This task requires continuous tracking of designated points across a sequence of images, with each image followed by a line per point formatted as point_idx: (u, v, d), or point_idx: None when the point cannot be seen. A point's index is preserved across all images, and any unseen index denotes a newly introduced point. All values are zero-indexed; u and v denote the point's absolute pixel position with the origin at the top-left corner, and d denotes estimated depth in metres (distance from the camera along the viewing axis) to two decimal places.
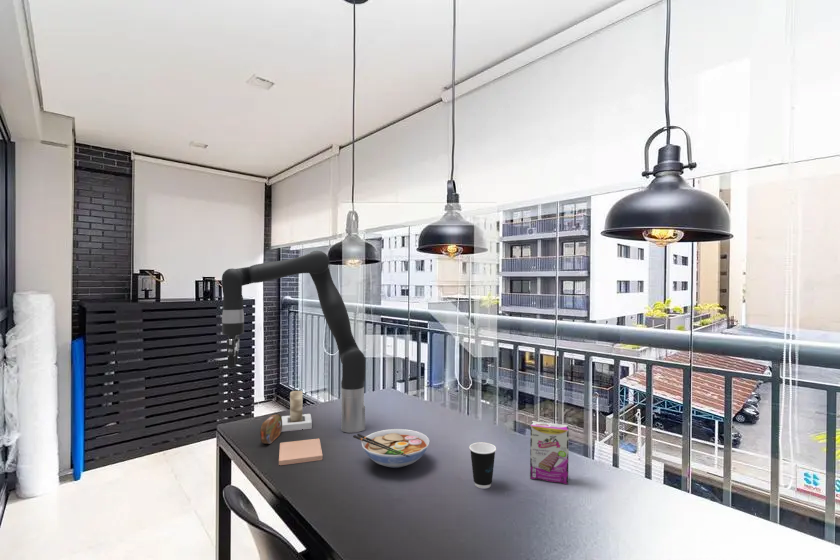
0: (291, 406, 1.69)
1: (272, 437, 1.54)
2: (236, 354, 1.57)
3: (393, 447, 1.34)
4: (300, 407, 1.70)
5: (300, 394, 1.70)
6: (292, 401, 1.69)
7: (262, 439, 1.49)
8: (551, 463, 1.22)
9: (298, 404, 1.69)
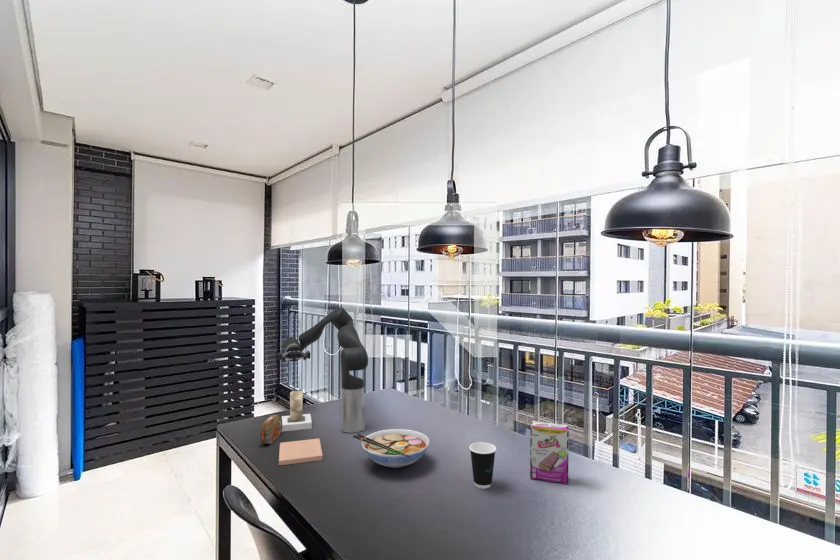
0: (291, 406, 1.69)
1: (272, 437, 1.54)
2: (303, 355, 1.86)
3: (393, 447, 1.34)
4: (300, 407, 1.70)
5: (300, 394, 1.70)
6: (292, 401, 1.69)
7: (262, 439, 1.49)
8: (551, 463, 1.22)
9: (298, 404, 1.69)
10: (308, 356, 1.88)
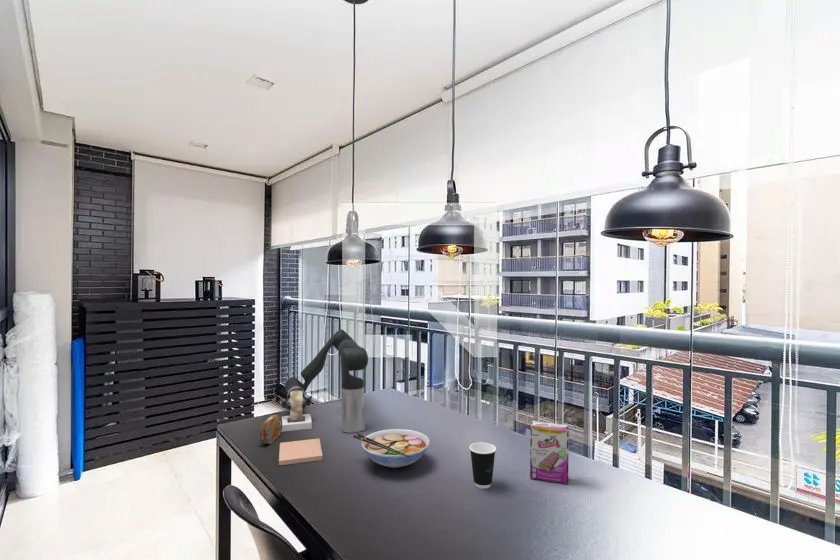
0: (291, 406, 1.69)
1: (272, 437, 1.54)
2: (302, 402, 1.73)
3: (393, 447, 1.34)
4: (300, 407, 1.70)
5: (300, 394, 1.70)
6: (293, 401, 1.69)
7: (262, 439, 1.49)
8: (551, 463, 1.22)
9: (298, 404, 1.69)
10: (307, 403, 1.74)
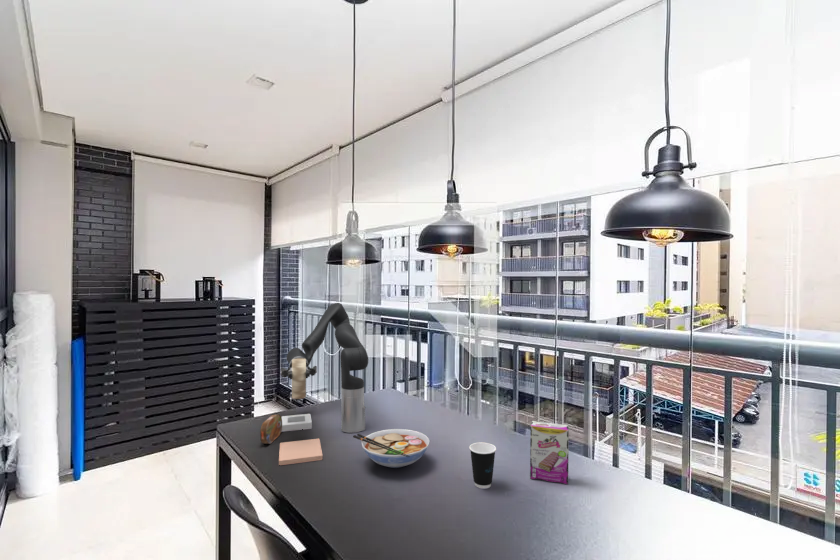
0: (293, 375, 1.49)
1: (272, 437, 1.54)
2: None
3: (393, 447, 1.34)
4: (303, 376, 1.50)
5: (303, 362, 1.50)
6: (295, 369, 1.49)
7: (262, 439, 1.49)
8: (551, 463, 1.22)
9: (301, 373, 1.49)
10: (311, 373, 1.54)
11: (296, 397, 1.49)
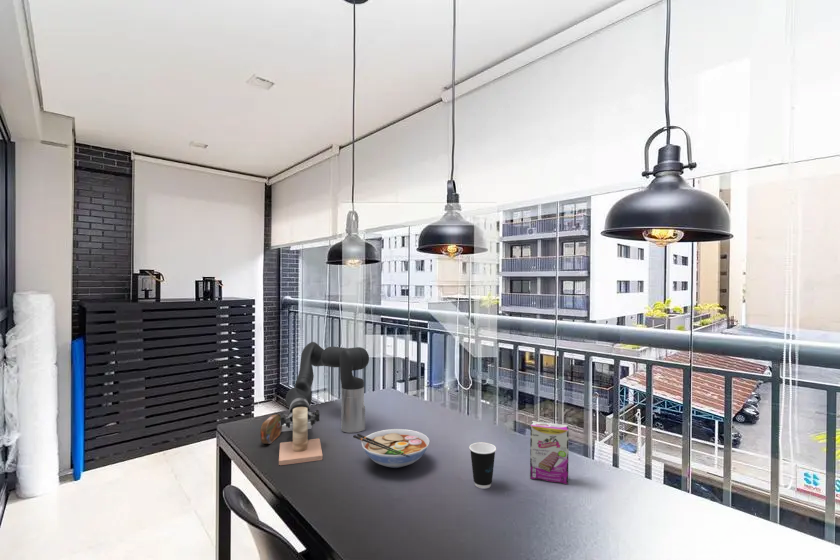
0: (294, 426, 1.41)
1: (272, 437, 1.54)
2: (310, 417, 1.45)
3: (393, 447, 1.34)
4: (305, 427, 1.42)
5: (305, 412, 1.42)
6: (296, 420, 1.40)
7: (262, 439, 1.49)
8: (551, 463, 1.22)
9: (302, 424, 1.41)
10: (316, 418, 1.47)
11: (297, 450, 1.41)
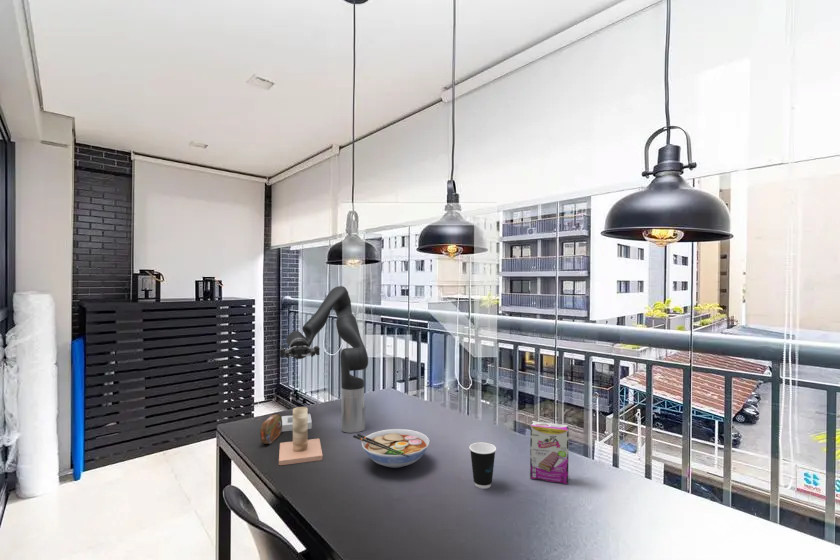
0: (294, 426, 1.41)
1: (272, 437, 1.54)
2: (311, 350, 1.51)
3: (393, 447, 1.34)
4: (305, 427, 1.42)
5: (305, 412, 1.42)
6: (296, 420, 1.41)
7: (262, 439, 1.49)
8: (551, 463, 1.22)
9: (302, 424, 1.41)
10: (317, 352, 1.53)
11: (297, 450, 1.41)
